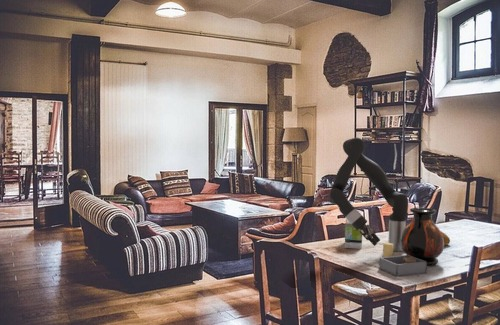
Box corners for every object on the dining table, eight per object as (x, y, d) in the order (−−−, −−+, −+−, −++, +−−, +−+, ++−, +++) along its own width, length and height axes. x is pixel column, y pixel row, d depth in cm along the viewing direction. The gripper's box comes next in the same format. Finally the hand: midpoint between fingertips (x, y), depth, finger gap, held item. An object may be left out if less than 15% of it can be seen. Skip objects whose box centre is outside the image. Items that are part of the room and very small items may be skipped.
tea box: (362, 249, 272) (362, 224, 271) (344, 248, 274) (345, 223, 273) (361, 243, 286) (362, 219, 286) (344, 242, 288) (345, 218, 288)
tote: (408, 265, 237) (408, 255, 237) (426, 273, 224) (427, 261, 224) (379, 268, 231) (379, 257, 231) (396, 276, 219) (396, 264, 218)
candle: (388, 261, 245) (389, 242, 245) (394, 263, 241) (395, 244, 240) (380, 262, 244) (381, 243, 243) (386, 264, 239) (387, 245, 238)
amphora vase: (408, 254, 260) (410, 204, 258) (449, 261, 246) (451, 209, 244) (393, 262, 243) (394, 209, 242) (435, 270, 229) (437, 214, 228)
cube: (402, 267, 232) (402, 257, 232) (412, 267, 232) (412, 257, 232) (405, 270, 227) (406, 260, 227) (416, 270, 227) (416, 260, 227)
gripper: (358, 216, 240) (380, 241, 236) (364, 212, 253) (385, 236, 249) (347, 226, 243) (369, 250, 239) (354, 221, 256) (374, 244, 252)
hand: (377, 243), depth 244 cm, fingers open, 8 cm apart
